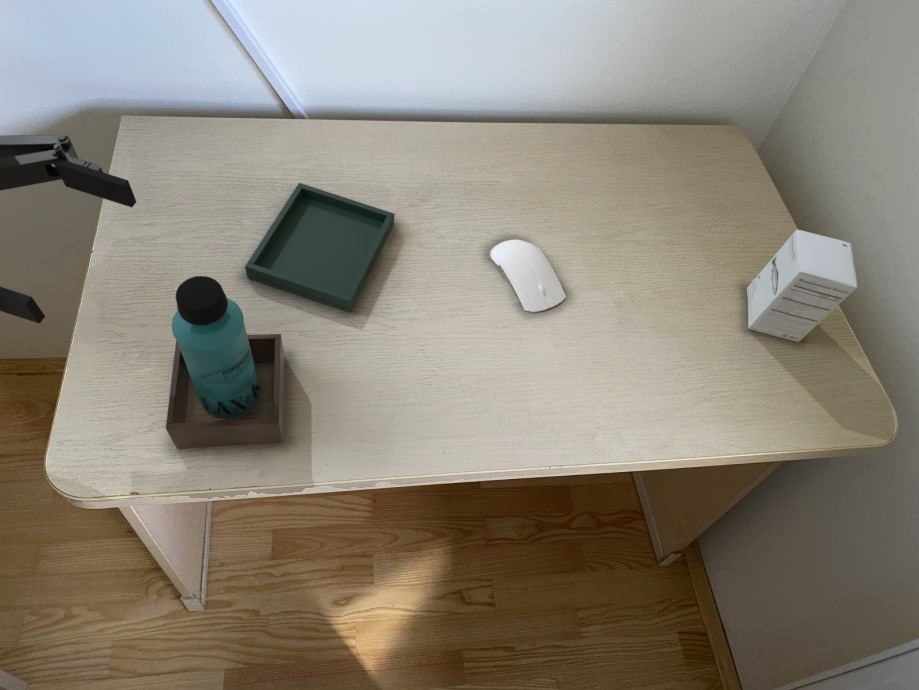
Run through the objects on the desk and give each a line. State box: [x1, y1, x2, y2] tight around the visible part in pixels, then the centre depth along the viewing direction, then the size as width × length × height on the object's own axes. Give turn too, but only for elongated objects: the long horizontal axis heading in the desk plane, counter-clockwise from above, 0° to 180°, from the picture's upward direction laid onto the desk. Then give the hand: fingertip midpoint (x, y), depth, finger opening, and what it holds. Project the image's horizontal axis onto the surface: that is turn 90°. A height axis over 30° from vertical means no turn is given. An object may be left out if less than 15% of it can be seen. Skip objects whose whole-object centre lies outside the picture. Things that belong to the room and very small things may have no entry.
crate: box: [165, 333, 286, 450], centre depth 71 cm, size 11×11×5 cm
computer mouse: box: [489, 239, 567, 313], centre depth 87 cm, size 7×12×2 cm, turn 28°
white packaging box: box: [746, 229, 858, 343], centre depth 85 cm, size 7×7×13 cm
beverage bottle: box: [171, 275, 262, 420], centre depth 65 cm, size 6×7×20 cm
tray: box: [244, 182, 396, 313], centre depth 85 cm, size 16×14×2 cm
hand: (86, 248), depth 56 cm, fingers open, 13 cm apart
